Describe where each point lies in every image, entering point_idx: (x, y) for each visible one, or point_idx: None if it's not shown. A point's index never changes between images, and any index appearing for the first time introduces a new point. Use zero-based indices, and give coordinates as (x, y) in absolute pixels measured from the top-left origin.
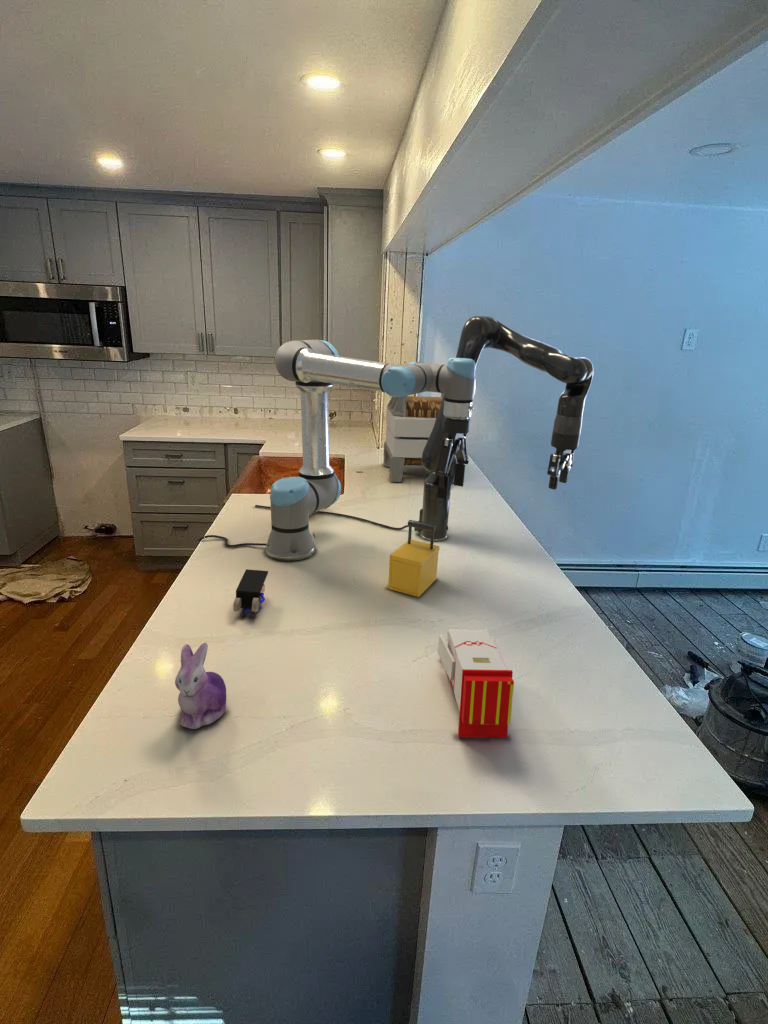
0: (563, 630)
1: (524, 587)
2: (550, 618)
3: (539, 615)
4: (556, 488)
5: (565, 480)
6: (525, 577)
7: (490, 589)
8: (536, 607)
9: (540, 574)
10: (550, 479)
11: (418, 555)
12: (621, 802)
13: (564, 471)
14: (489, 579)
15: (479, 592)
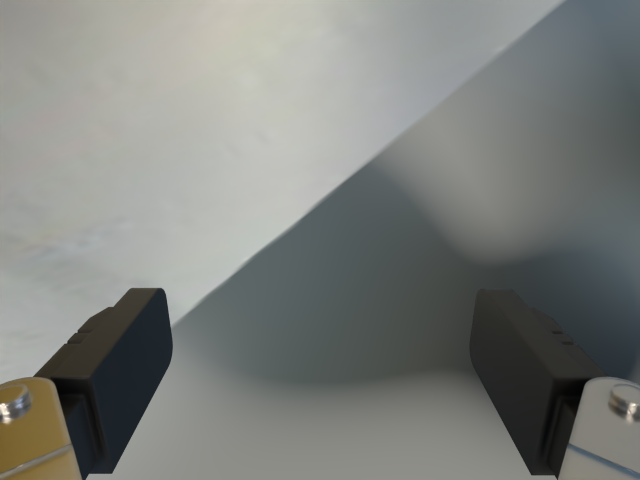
0: (30, 318)
1: (168, 143)
2: (56, 274)
3: (45, 247)
4: (168, 359)
5: (479, 365)
6: (241, 114)
7: (62, 55)
8: (79, 223)
9: (301, 147)
10: (43, 368)
11: None
12: None
13: (534, 421)
14: (126, 12)
15: (11, 33)
